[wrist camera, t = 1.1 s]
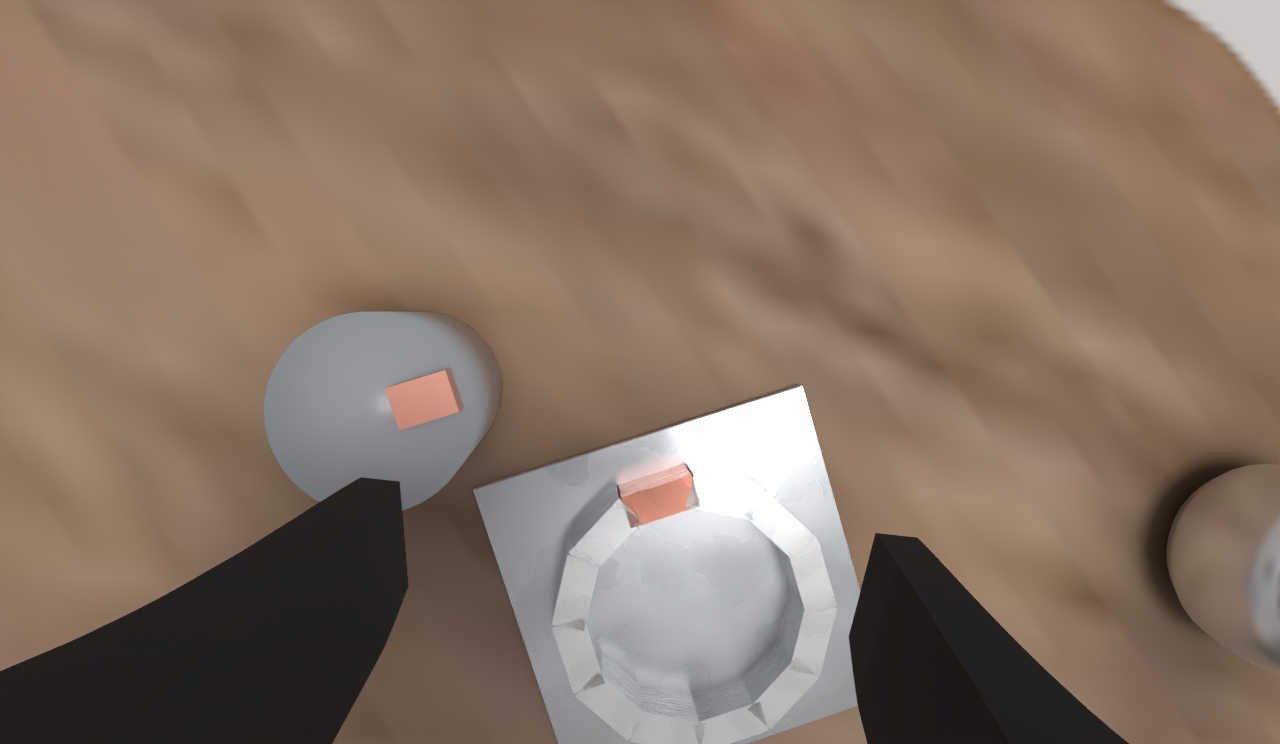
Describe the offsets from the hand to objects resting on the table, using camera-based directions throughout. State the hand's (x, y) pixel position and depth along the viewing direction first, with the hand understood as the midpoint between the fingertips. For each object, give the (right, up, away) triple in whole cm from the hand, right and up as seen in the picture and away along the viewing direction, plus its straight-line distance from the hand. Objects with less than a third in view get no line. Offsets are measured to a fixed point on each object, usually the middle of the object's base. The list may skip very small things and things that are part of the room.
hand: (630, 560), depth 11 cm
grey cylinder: (-7, +2, +12) cm, 14 cm away
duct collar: (+2, -4, +13) cm, 14 cm away
